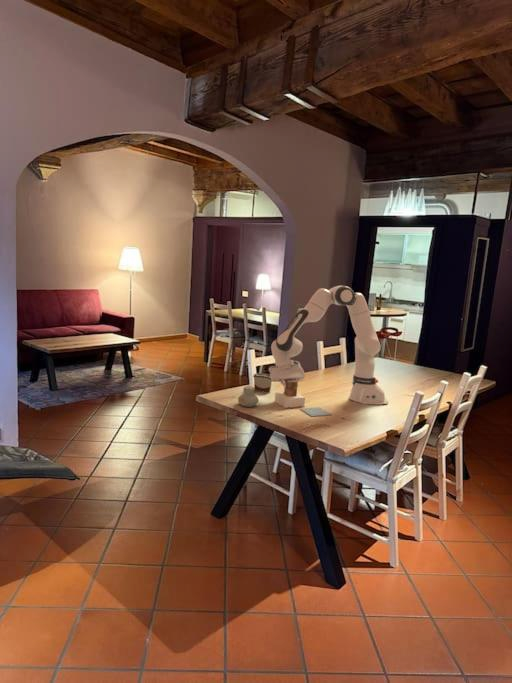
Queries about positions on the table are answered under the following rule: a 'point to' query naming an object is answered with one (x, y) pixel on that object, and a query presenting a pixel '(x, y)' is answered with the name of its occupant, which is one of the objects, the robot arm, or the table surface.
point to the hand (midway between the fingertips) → (291, 387)
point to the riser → (289, 400)
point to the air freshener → (248, 397)
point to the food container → (262, 382)
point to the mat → (315, 411)
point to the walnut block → (291, 388)
